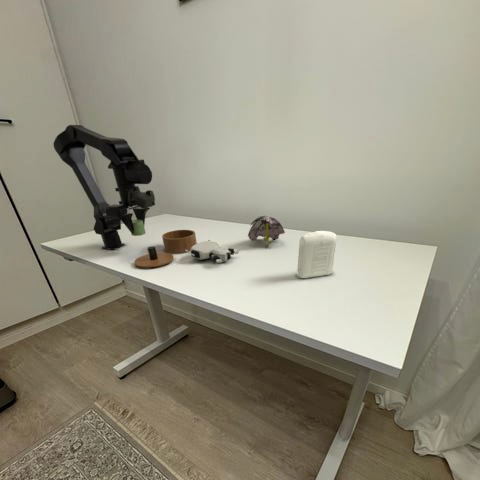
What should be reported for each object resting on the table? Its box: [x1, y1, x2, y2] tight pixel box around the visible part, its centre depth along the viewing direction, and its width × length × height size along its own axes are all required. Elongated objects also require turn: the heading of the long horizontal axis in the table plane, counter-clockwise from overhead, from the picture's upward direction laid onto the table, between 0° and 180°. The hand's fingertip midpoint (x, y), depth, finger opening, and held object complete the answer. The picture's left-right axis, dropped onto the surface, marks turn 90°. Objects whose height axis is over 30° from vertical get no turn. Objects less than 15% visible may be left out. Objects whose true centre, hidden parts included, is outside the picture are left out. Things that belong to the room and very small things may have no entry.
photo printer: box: [296, 230, 338, 279], centre depth 77 cm, size 10×4×12 cm, turn 103°
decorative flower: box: [247, 215, 286, 248], centre depth 103 cm, size 15×12×15 cm
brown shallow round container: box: [161, 229, 198, 255], centre depth 105 cm, size 12×12×5 cm
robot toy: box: [185, 239, 239, 264], centre depth 94 cm, size 12×4×15 cm
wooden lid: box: [134, 245, 174, 269], centre depth 94 cm, size 13×13×5 cm
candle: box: [130, 219, 146, 237], centre depth 100 cm, size 5×5×4 cm
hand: (137, 231), depth 100 cm, fingers closed on candle, 5 cm apart
